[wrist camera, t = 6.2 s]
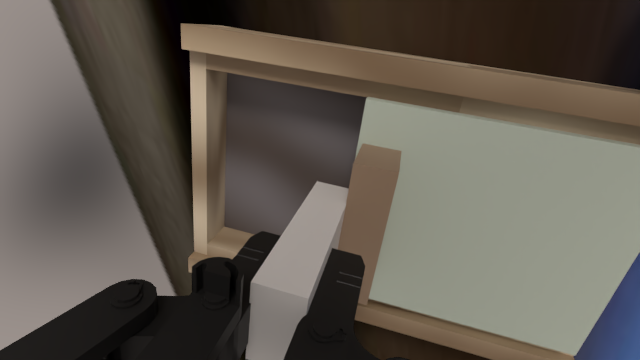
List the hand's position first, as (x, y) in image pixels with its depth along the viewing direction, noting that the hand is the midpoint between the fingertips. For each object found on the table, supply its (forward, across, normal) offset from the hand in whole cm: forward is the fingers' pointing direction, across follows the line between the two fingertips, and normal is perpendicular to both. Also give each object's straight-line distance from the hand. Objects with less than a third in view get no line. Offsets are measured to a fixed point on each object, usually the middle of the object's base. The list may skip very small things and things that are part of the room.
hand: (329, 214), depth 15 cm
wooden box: (+4, +2, 0) cm, 5 cm away
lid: (+2, +6, 0) cm, 6 cm away
